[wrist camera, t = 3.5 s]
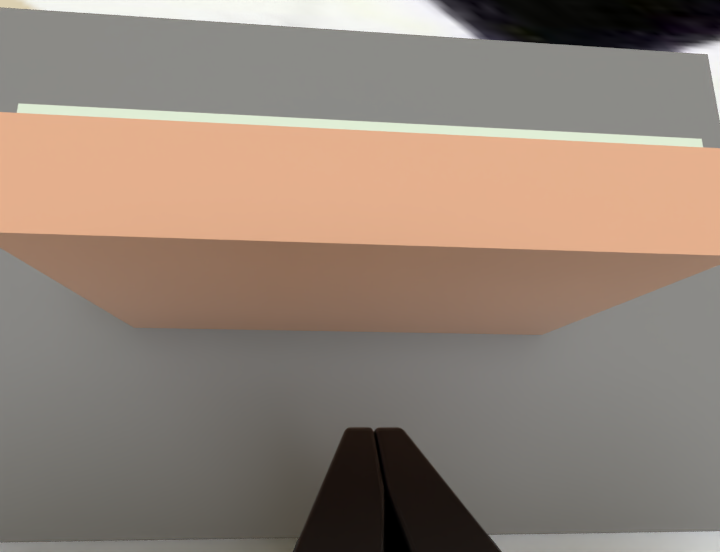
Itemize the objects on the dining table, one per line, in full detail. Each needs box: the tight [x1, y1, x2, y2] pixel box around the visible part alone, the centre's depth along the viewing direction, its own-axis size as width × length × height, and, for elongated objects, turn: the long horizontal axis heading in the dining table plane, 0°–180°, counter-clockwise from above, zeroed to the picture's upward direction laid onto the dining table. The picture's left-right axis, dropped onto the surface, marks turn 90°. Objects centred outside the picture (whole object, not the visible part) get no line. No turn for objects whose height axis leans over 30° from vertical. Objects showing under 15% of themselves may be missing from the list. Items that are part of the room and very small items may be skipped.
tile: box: [0, 103, 720, 335], centre depth 12 cm, size 2×11×8 cm, turn 90°
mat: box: [0, 8, 720, 542], centre depth 16 cm, size 15×24×1 cm, turn 90°
